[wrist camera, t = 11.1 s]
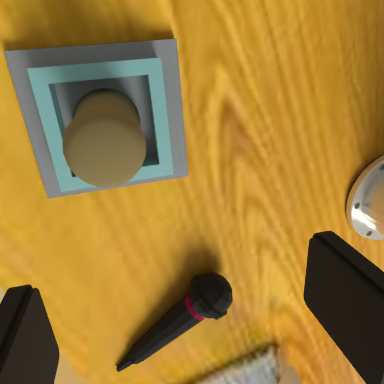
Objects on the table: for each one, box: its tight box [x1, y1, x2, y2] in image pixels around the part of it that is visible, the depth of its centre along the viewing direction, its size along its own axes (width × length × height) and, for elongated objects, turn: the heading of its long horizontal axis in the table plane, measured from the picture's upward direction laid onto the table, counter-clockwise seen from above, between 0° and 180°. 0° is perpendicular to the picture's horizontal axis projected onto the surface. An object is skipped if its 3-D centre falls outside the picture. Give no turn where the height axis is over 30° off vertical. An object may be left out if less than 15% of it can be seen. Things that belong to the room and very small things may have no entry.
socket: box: [4, 39, 188, 198], centre depth 27 cm, size 14×13×3 cm
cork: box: [62, 88, 146, 187], centre depth 23 cm, size 6×6×11 cm
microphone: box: [116, 273, 233, 372], centre depth 39 cm, size 6×6×20 cm
